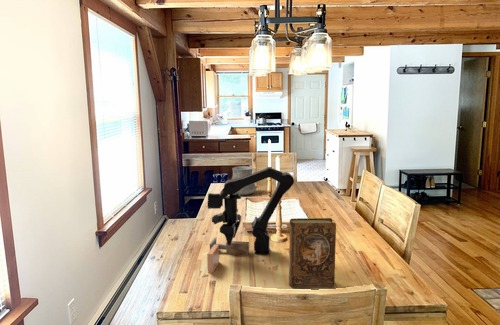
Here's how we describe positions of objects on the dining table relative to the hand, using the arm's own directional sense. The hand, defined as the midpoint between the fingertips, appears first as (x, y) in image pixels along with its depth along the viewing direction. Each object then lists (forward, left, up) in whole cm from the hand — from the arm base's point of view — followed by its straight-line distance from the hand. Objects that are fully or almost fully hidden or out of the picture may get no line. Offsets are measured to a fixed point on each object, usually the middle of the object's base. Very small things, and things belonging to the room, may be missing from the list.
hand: (231, 241), depth 169 cm
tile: (+4, +16, -6) cm, 17 cm away
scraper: (0, 0, -5) cm, 5 cm away
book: (-36, +25, -6) cm, 44 cm away
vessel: (+14, -109, -6) cm, 110 cm away
